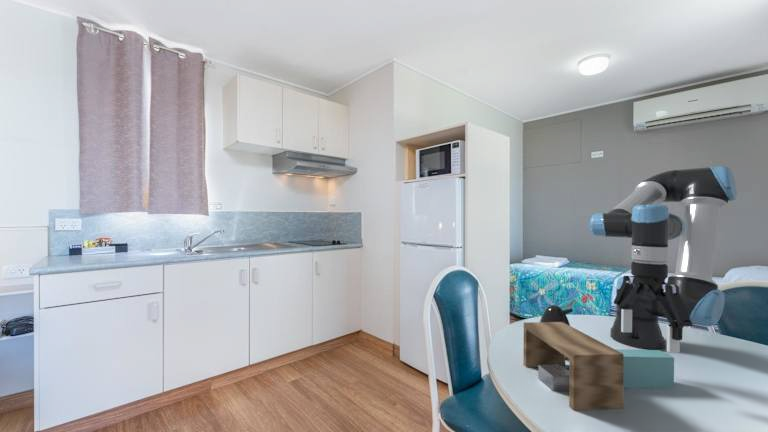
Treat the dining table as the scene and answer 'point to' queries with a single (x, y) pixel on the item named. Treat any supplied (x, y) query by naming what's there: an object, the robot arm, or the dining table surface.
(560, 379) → the low grey plinth
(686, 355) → the dining table surface
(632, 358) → the teal batten
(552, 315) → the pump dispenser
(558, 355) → the walnut shelf
